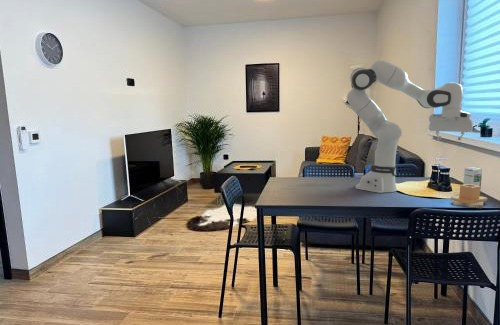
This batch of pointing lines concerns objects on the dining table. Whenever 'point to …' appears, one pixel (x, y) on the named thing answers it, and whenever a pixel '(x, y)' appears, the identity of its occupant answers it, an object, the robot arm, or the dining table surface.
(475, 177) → the syrup box
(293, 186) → the dining table surface
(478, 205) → the post base
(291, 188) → the dining table surface
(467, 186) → the flange plate
